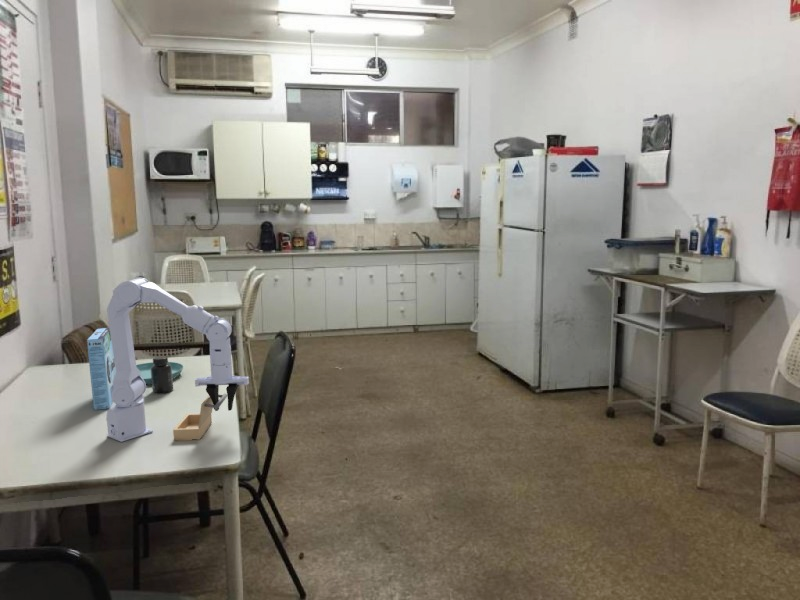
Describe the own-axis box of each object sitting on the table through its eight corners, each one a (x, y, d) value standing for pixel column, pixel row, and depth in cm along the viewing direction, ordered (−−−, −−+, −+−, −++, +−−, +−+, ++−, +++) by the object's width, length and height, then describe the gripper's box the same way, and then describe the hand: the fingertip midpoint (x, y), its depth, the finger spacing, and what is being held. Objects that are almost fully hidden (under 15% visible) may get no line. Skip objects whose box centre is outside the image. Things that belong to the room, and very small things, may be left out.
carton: (173, 440, 166) (173, 429, 165) (187, 424, 178) (187, 414, 178) (199, 439, 166) (199, 429, 166) (211, 423, 179) (211, 413, 178)
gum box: (109, 408, 193) (103, 338, 190) (92, 410, 192) (85, 339, 188) (118, 391, 211) (113, 327, 208) (102, 393, 210) (96, 328, 207)
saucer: (134, 369, 241) (133, 361, 241) (193, 369, 240) (193, 361, 240) (101, 387, 218) (101, 378, 217) (167, 387, 216) (167, 378, 216)
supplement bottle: (166, 387, 216) (164, 354, 214) (177, 390, 212) (174, 357, 210) (148, 391, 211) (146, 358, 209) (158, 395, 207) (156, 361, 205)
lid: (201, 404, 165) (217, 406, 165) (213, 390, 177) (228, 392, 178) (198, 427, 166) (214, 430, 166) (210, 412, 178) (225, 414, 179)
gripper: (250, 358, 174) (252, 404, 176) (198, 360, 173) (201, 405, 175) (245, 365, 167) (247, 412, 169) (191, 366, 166) (194, 413, 168)
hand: (223, 409), depth 172 cm, fingers open, 3 cm apart
